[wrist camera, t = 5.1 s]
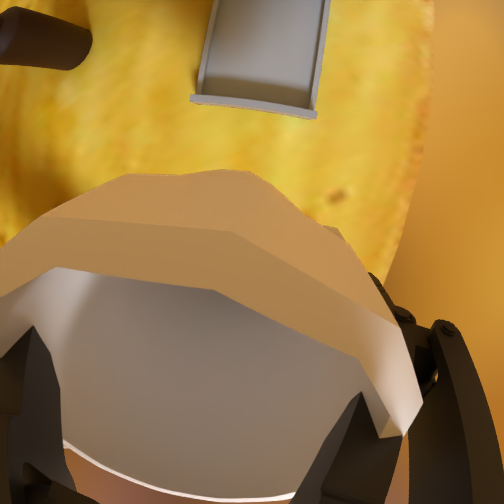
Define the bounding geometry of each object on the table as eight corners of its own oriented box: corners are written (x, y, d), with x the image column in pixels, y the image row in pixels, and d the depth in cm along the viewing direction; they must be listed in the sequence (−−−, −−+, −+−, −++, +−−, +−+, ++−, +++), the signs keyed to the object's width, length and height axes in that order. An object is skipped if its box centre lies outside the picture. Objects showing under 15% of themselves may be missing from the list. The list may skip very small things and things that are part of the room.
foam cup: (285, 117, 13) (399, 68, 2) (331, 267, 17) (403, 472, 5) (130, 181, 15) (-55, 306, 3) (193, 307, 19) (136, 492, 7)
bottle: (101, 32, 24) (-4, -3, 6) (78, 75, 26) (-36, 68, 8) (71, 25, 23) (-28, 1, 5) (51, 66, 25) (-54, 62, 7)
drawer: (309, 119, 29) (316, 118, 26) (198, 104, 29) (189, 101, 25) (329, -16, 21) (336, -30, 17) (225, -30, 20) (221, -45, 17)
